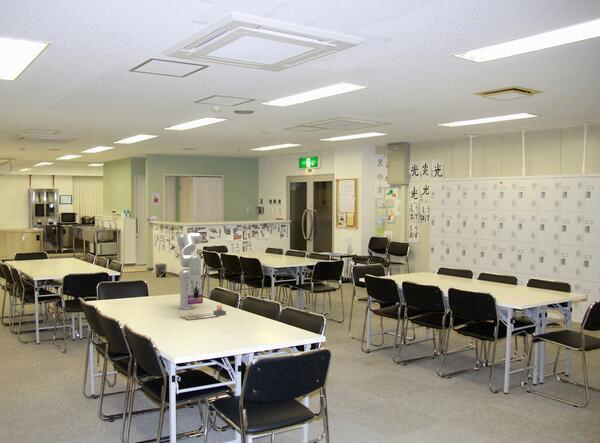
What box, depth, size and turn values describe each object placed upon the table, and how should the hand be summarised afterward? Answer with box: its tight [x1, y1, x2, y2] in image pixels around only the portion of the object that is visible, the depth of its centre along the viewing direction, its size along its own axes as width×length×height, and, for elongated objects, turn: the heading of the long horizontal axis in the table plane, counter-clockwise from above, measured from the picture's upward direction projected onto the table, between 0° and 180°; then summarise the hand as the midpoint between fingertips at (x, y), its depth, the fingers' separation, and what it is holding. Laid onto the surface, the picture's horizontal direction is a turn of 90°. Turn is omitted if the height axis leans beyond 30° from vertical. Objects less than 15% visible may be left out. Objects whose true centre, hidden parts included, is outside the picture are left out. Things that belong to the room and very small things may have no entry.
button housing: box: [212, 309, 227, 317], centre depth 419 cm, size 7×7×3 cm
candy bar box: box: [187, 280, 204, 305], centre depth 407 cm, size 11×5×16 cm, turn 112°
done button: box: [216, 304, 223, 312], centre depth 419 cm, size 4×4×5 cm
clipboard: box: [179, 312, 219, 322], centre depth 410 cm, size 15×24×1 cm, turn 123°
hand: (194, 297), depth 407 cm, fingers closed on candy bar box, 5 cm apart
